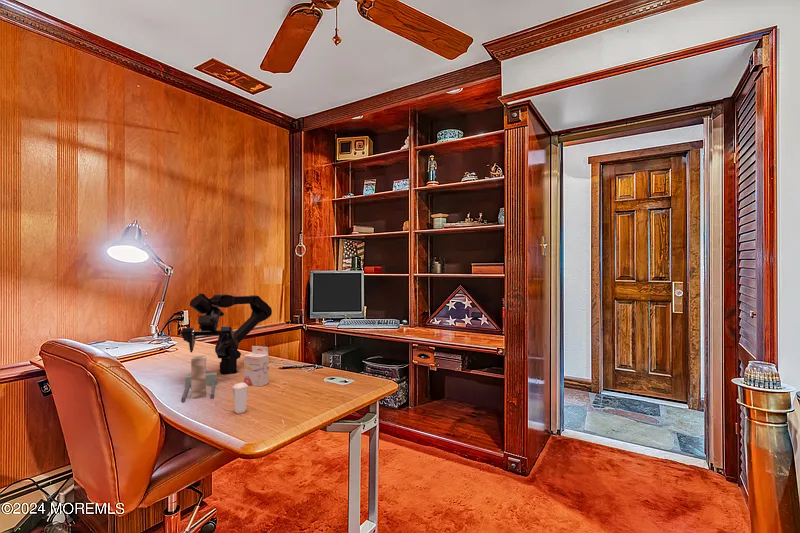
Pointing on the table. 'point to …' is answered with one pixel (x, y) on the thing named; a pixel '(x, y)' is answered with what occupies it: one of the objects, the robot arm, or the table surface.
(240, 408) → the milkshake
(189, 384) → the guide track
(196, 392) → the post
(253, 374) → the ink cartridge box
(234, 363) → the robot arm
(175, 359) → the table surface
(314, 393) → the table surface
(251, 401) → the table surface
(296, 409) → the table surface
